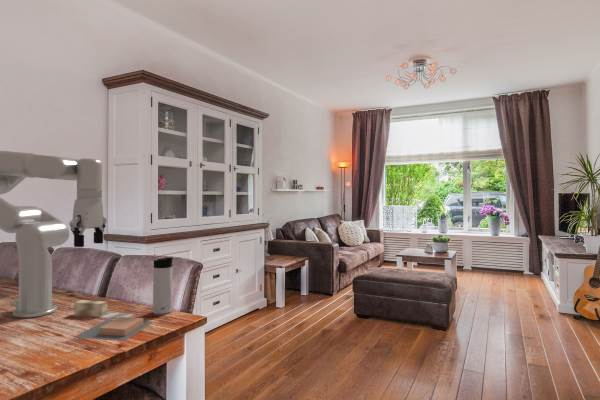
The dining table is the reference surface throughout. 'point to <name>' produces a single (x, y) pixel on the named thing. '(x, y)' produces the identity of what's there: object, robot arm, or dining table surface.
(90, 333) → the grey square plate
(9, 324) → the dining table surface
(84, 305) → the beige rectangular bar
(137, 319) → the tile
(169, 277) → the travel mug
